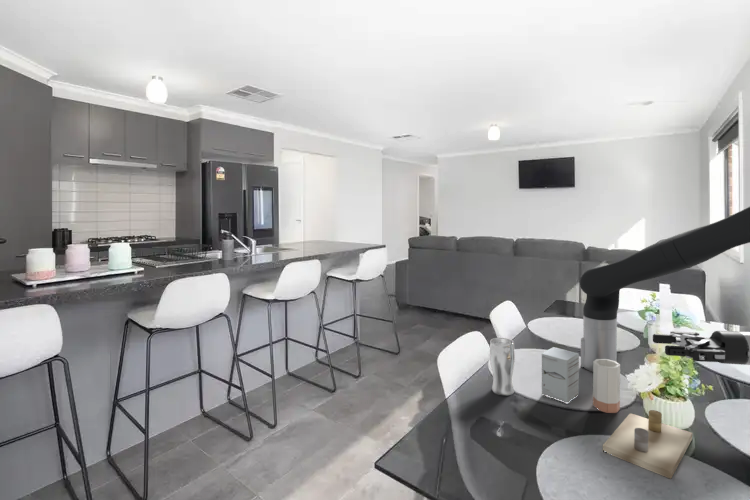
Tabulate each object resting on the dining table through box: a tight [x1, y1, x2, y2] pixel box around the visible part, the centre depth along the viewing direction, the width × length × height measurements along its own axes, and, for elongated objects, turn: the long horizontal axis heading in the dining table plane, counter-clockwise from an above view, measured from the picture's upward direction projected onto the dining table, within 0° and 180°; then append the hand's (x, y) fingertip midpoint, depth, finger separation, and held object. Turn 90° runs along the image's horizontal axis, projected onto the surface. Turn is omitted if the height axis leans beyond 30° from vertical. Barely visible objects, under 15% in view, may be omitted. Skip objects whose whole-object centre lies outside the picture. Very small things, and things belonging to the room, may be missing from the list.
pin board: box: [602, 409, 693, 480], centre depth 84 cm, size 12×18×6 cm, turn 130°
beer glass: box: [489, 337, 516, 397], centre depth 112 cm, size 7×7×15 cm
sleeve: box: [592, 359, 621, 414], centre depth 100 cm, size 6×6×12 cm
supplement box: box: [541, 346, 580, 402], centre depth 107 cm, size 7×7×13 cm
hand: (659, 344), depth 95 cm, fingers open, 8 cm apart
